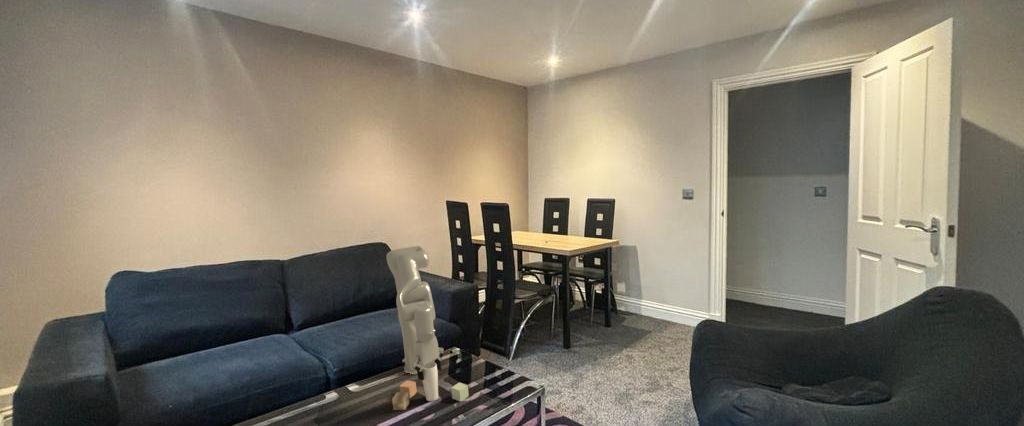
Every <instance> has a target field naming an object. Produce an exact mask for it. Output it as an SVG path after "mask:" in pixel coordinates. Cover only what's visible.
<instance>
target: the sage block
mask: <svg viewBox="0 0 1024 426" xmlns="http://www.w3.org/2000/svg"><path fill="white" fill-rule="evenodd" d="M450 391H451V398H452V400H456V401H457V402H462V401H464V400H465V399H467V398H468V397H469V396H470V395H469V385H467V384H466V383H462V382H458V383H456V384H454V385H453V386H452V387H450Z"/></svg>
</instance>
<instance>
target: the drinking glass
mask: <svg viewBox="0 0 1024 426" xmlns="http://www.w3.org/2000/svg"><path fill="white" fill-rule="evenodd" d="M422 371H423V373H424V380H422V383H423V384H422V385H423V389H424V395H425V399H426V401H428V402H434V401H436V400H438V399H439V373H438V372H439V370H437V364H436V363H435V361H432V362H430V363H428V364H426V365H424V367H423V369H422Z"/></svg>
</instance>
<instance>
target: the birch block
mask: <svg viewBox="0 0 1024 426" xmlns="http://www.w3.org/2000/svg"><path fill="white" fill-rule="evenodd" d="M391 401H392V406H393V407H392V409H393V411H405V410H407V407H408V406H409V404H410V398H409V396H408V392H400V391H399V392H398V391H397V392H396V393H395V394H394V396H393V397H392V398H391Z"/></svg>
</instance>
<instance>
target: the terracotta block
mask: <svg viewBox="0 0 1024 426" xmlns="http://www.w3.org/2000/svg"><path fill="white" fill-rule="evenodd" d="M417 390H418V389H417V383H416V381H411V380H405V381H404V382H402V383H401V384H400V385H399V392H408V396H409V399H412V397H413V396H415V395H416V394H417V392H418V391H417Z"/></svg>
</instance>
